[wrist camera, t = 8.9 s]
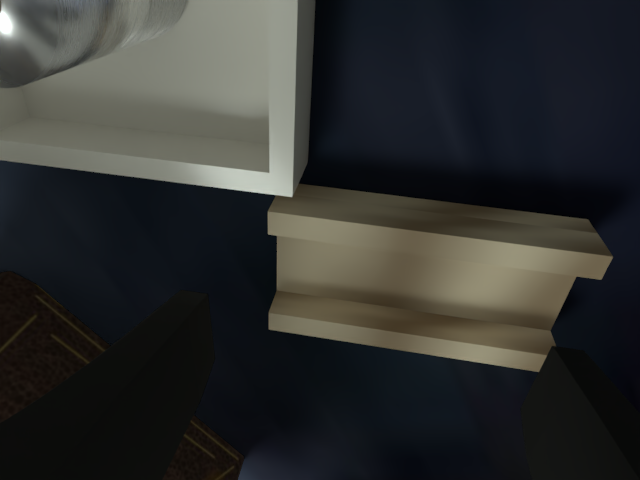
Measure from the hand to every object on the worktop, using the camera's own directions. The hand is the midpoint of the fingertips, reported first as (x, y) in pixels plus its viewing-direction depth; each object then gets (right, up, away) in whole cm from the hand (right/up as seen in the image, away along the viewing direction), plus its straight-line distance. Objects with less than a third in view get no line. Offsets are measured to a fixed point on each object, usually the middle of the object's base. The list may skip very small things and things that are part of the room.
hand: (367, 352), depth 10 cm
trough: (+3, +2, +10) cm, 10 cm away
